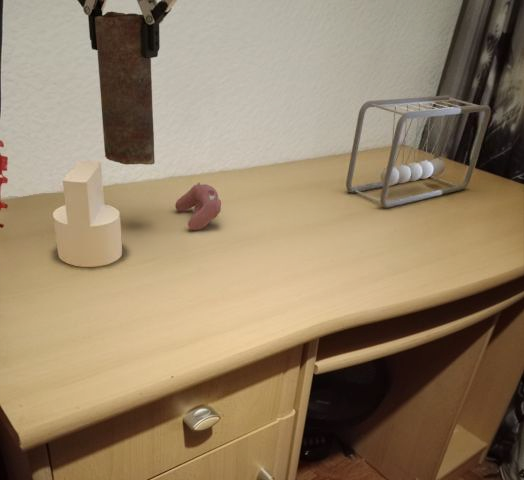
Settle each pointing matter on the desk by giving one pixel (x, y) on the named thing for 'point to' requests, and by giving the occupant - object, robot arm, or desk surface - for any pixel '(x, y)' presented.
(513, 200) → the desk surface
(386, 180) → the newton's cradle
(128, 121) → the rusty brown cylinder
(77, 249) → the base with upright slab
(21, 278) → the desk surface
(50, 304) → the desk surface
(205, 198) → the video game controller
